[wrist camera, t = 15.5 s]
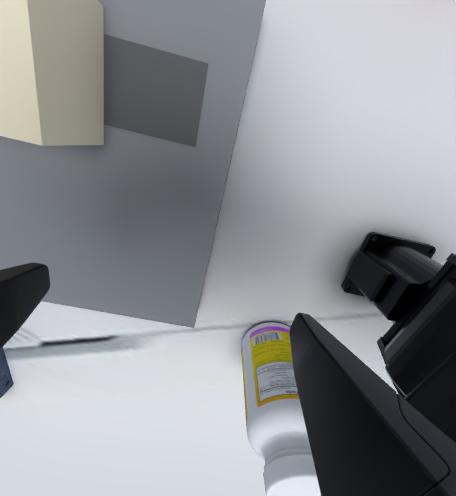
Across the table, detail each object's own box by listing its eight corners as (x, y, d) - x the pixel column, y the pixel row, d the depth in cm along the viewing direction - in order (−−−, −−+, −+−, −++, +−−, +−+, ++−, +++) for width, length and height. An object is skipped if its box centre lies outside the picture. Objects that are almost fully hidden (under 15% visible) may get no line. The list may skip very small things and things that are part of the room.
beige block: (103, 6, 12) (17, -85, 7) (103, 145, 15) (42, 145, 10) (-34, -32, 12) (-223, -158, 7) (-7, 118, 15) (-128, 106, 10)
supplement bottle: (276, 368, 29) (308, 523, 17) (230, 348, 27) (231, 502, 16) (310, 333, 26) (375, 486, 15) (262, 310, 25) (291, 458, 13)
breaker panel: (260, 20, 15) (269, -15, 12) (197, 307, 25) (193, 332, 21) (-38, -71, 13) (-125, -141, 10) (21, 274, 23) (-13, 296, 20)
